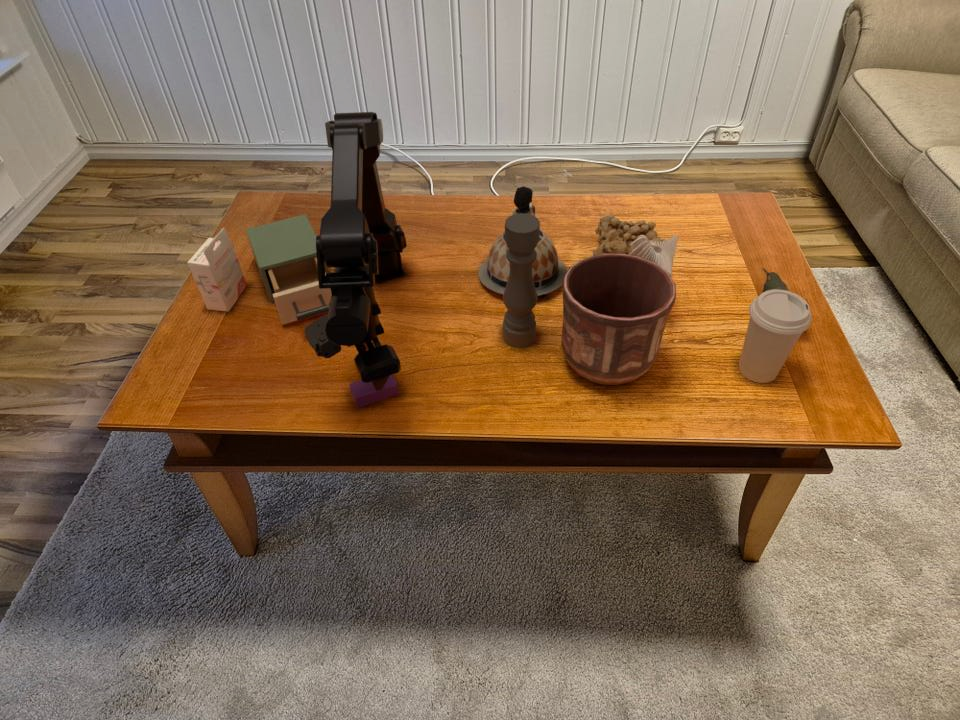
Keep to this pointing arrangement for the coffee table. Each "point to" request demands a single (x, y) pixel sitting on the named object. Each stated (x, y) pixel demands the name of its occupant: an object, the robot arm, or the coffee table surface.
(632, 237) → the mineral formation
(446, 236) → the coffee table surface
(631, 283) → the pottery
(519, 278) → the candle holder
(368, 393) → the purple box
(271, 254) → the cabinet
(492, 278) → the patterned domed piece
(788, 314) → the coffee cup
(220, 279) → the ink cartridge box
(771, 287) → the sculpture
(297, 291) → the drawer
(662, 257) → the shell sculpture
